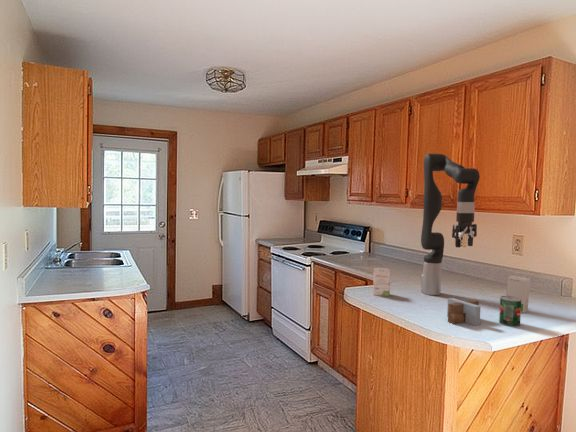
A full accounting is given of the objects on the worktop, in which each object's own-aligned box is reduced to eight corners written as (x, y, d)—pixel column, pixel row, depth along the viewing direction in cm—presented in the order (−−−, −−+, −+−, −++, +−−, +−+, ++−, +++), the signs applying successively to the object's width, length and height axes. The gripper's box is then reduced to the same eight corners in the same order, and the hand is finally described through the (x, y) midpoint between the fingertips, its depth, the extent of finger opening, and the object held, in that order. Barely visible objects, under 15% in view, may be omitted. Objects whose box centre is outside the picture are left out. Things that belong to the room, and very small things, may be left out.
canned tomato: (523, 327, 166) (524, 301, 165) (502, 326, 167) (504, 300, 167) (516, 321, 174) (517, 296, 173) (496, 320, 175) (497, 295, 174)
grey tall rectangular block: (447, 316, 180) (447, 298, 179) (451, 315, 181) (452, 297, 181) (475, 325, 167) (475, 307, 167) (479, 324, 169) (480, 306, 168)
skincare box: (504, 309, 191) (506, 277, 190) (509, 306, 195) (511, 275, 194) (524, 313, 185) (526, 280, 184) (529, 310, 189) (530, 278, 188)
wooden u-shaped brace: (447, 322, 172) (448, 303, 171) (472, 316, 179) (472, 299, 179) (453, 324, 169) (454, 305, 168) (478, 318, 177) (478, 300, 176)
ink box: (389, 293, 217) (390, 266, 216) (389, 296, 212) (390, 268, 211) (373, 292, 219) (374, 265, 218) (372, 295, 215) (373, 267, 214)
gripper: (468, 211, 192) (466, 244, 193) (448, 211, 185) (446, 246, 186) (482, 211, 186) (481, 246, 187) (462, 212, 179) (460, 248, 180)
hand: (464, 246), depth 187 cm, fingers open, 8 cm apart
